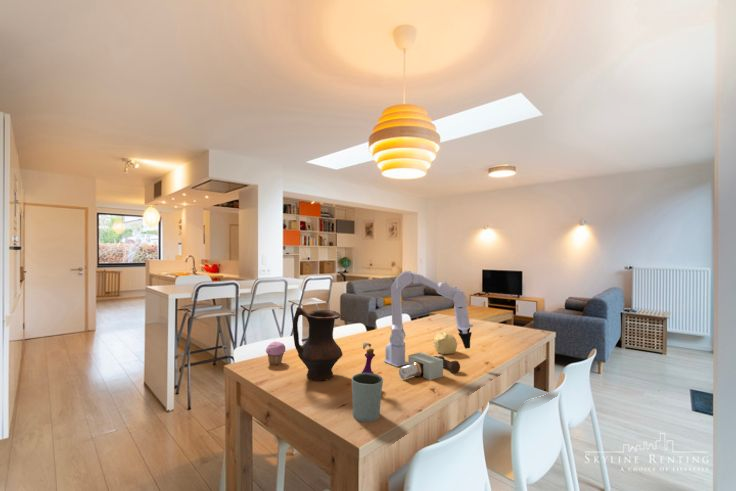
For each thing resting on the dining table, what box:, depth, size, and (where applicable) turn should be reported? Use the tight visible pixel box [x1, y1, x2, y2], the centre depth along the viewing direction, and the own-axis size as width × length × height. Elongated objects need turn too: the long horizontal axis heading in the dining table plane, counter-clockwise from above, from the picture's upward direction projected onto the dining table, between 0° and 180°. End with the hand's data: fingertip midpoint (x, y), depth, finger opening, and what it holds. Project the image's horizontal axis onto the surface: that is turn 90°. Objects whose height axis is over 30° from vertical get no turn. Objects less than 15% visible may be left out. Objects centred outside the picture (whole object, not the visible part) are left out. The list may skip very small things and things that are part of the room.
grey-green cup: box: [351, 372, 384, 423], centre depth 108 cm, size 10×10×12 cm
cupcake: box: [265, 341, 286, 365], centre depth 157 cm, size 9×9×10 cm
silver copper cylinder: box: [398, 362, 423, 380], centre depth 142 cm, size 6×14×6 cm, turn 127°
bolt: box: [433, 355, 461, 374], centre depth 154 cm, size 6×5×15 cm
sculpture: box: [433, 331, 458, 355], centre depth 177 cm, size 12×12×11 cm
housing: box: [407, 351, 444, 381], centre depth 146 cm, size 13×8×7 cm, turn 37°
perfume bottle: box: [361, 342, 376, 374], centre depth 128 cm, size 8×8×18 cm
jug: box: [292, 305, 344, 382], centre depth 141 cm, size 21×18×30 cm
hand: (466, 345), depth 152 cm, fingers open, 7 cm apart
